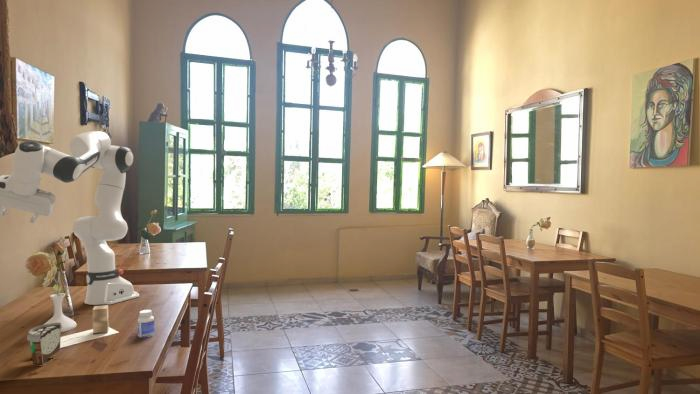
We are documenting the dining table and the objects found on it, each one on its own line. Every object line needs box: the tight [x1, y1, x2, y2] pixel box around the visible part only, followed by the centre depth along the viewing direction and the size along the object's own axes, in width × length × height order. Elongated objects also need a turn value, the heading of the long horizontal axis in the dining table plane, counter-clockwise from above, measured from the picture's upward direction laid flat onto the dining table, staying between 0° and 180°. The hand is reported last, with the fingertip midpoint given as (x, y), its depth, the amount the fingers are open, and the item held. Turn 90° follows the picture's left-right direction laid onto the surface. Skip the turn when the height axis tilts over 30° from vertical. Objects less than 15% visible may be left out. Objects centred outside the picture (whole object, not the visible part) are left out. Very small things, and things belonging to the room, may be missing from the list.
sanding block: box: [92, 304, 110, 335], centre depth 162 cm, size 4×4×9 cm
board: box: [60, 326, 120, 349], centre depth 158 cm, size 20×11×1 cm, turn 141°
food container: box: [26, 322, 62, 366], centre depth 141 cm, size 12×6×10 cm, turn 5°
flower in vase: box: [41, 265, 78, 333], centre depth 165 cm, size 13×11×25 cm
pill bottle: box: [137, 309, 156, 339], centre depth 160 cm, size 5×5×10 cm
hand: (18, 218), depth 166 cm, fingers open, 8 cm apart
